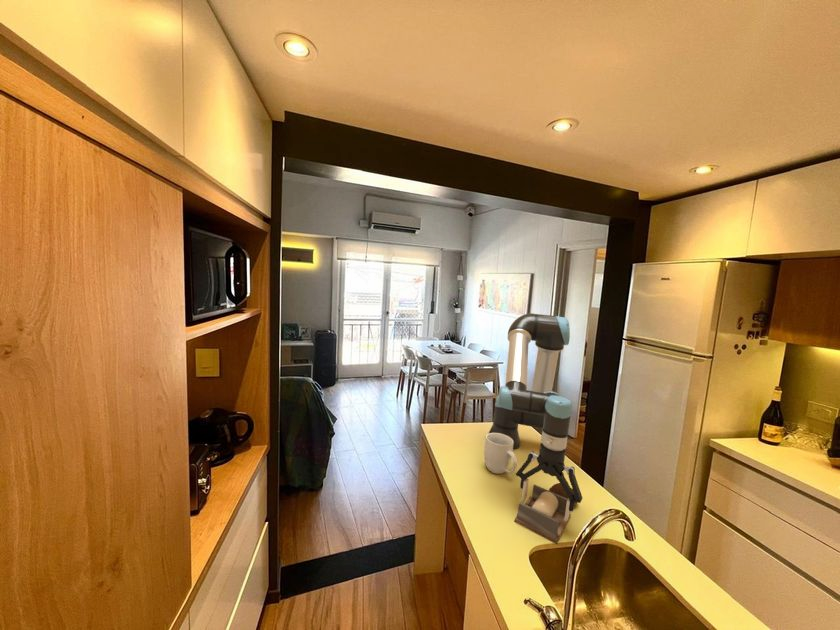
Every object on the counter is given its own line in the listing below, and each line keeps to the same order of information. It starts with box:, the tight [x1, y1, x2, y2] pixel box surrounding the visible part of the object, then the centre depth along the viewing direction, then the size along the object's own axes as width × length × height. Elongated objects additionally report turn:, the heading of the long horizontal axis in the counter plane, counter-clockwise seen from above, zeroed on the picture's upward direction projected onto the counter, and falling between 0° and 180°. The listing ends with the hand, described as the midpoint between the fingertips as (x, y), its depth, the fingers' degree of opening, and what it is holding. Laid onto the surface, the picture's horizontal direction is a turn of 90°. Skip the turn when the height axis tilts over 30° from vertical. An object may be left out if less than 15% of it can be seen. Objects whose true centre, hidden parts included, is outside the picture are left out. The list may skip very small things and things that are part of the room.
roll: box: [531, 492, 558, 517], centre depth 108 cm, size 10×6×6 cm, turn 143°
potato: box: [548, 482, 578, 505], centre depth 118 cm, size 7×10×7 cm
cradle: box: [514, 483, 572, 544], centre depth 108 cm, size 16×13×6 cm
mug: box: [483, 432, 518, 475], centre depth 134 cm, size 15×11×13 cm
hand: (544, 508), depth 108 cm, fingers open, 13 cm apart
